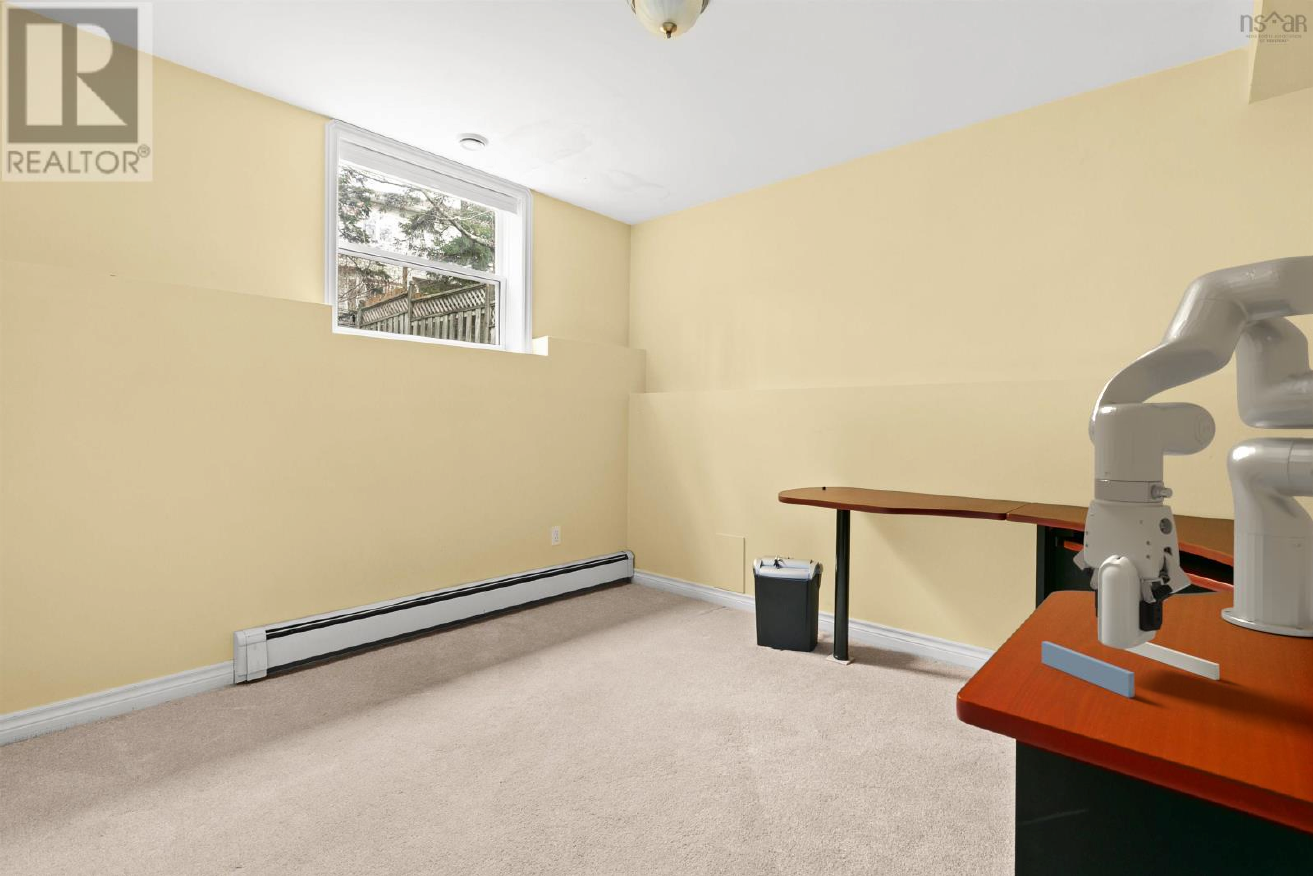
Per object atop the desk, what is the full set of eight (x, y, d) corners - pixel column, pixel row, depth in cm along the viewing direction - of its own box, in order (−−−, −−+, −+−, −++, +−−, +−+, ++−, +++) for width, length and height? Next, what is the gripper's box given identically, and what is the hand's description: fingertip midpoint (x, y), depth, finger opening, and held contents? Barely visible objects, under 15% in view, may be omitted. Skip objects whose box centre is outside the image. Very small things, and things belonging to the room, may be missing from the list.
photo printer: (1124, 629, 89) (1124, 545, 89) (1160, 638, 85) (1161, 550, 85) (1092, 644, 83) (1092, 554, 83) (1130, 653, 80) (1130, 559, 79)
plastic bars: (1126, 648, 93) (1126, 628, 92) (1219, 679, 81) (1219, 657, 81) (1041, 662, 87) (1041, 642, 87) (1128, 697, 76) (1128, 674, 76)
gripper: (1219, 498, 77) (1218, 640, 77) (1087, 486, 93) (1087, 604, 93) (1178, 501, 75) (1177, 647, 75) (1050, 488, 91) (1050, 608, 91)
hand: (1127, 622), depth 84 cm, fingers closed on photo printer, 5 cm apart
